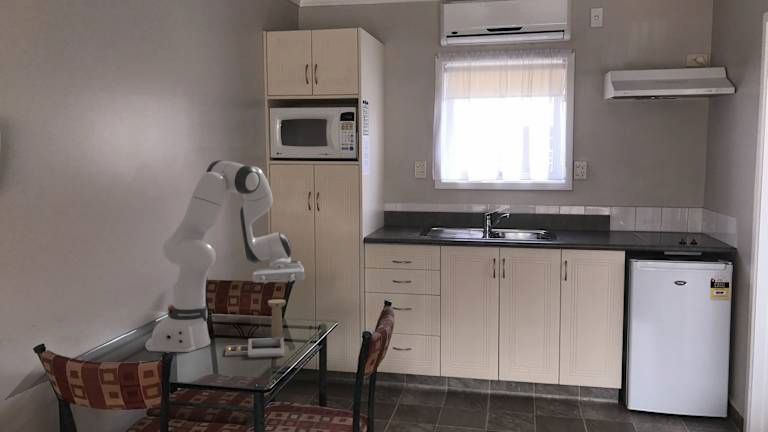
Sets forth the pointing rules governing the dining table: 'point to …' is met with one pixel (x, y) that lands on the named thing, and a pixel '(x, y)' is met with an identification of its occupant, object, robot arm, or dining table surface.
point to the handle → (276, 317)
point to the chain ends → (258, 352)
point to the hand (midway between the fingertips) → (277, 280)
